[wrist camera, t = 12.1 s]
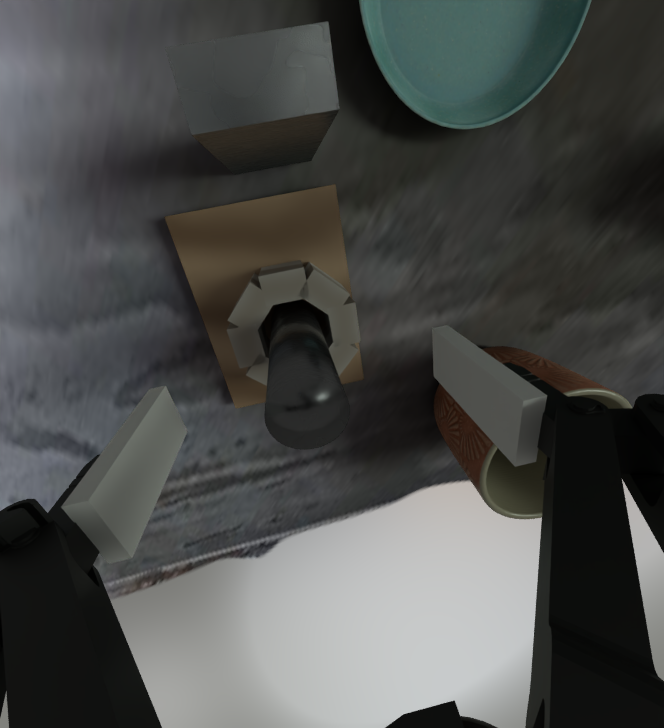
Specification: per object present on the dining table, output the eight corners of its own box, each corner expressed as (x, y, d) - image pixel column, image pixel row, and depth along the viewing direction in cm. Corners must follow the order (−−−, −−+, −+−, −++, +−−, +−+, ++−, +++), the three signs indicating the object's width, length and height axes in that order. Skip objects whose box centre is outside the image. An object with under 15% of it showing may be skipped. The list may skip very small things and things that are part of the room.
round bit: (266, 303, 25) (253, 389, 12) (311, 293, 25) (342, 368, 13) (278, 344, 27) (276, 457, 14) (319, 335, 27) (355, 438, 14)
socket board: (169, 216, 23) (141, 216, 18) (332, 185, 23) (345, 178, 19) (237, 401, 30) (229, 436, 25) (361, 373, 30) (375, 402, 26)
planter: (419, 445, 35) (471, 532, 26) (423, 342, 30) (492, 404, 20) (521, 427, 37) (609, 505, 27) (543, 326, 31) (663, 376, 21)
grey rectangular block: (234, 174, 22) (191, 135, 11) (223, 133, 21) (164, 47, 10) (311, 160, 22) (339, 108, 12) (304, 119, 21) (327, 21, 11)
